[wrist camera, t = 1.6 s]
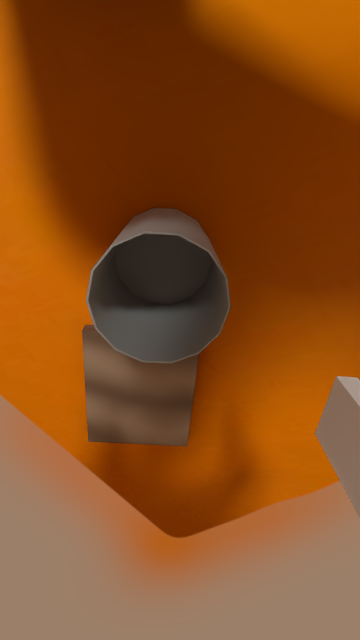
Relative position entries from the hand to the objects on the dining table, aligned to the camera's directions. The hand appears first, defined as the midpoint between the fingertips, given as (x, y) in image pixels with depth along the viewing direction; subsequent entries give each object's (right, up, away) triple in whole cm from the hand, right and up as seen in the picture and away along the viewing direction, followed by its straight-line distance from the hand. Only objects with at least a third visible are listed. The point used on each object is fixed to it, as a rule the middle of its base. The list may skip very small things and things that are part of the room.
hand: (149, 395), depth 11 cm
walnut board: (-3, -4, +22) cm, 23 cm away
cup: (0, +8, +16) cm, 18 cm away
